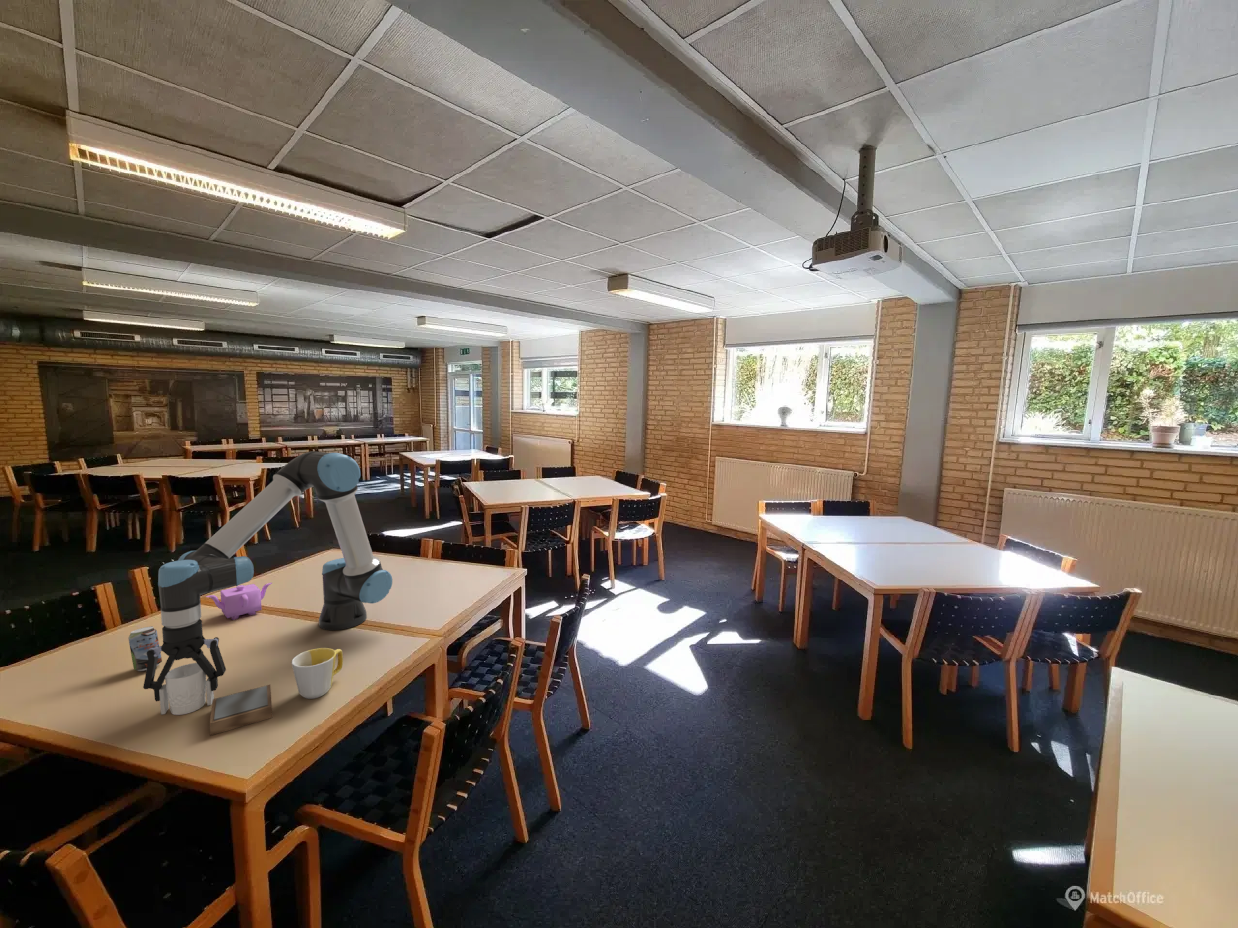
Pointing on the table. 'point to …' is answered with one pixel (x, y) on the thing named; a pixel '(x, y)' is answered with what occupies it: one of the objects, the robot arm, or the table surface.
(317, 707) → the table surface
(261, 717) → the walnut picture frame
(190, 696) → the white cup
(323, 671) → the mug
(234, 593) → the teapot
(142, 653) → the beverage can
